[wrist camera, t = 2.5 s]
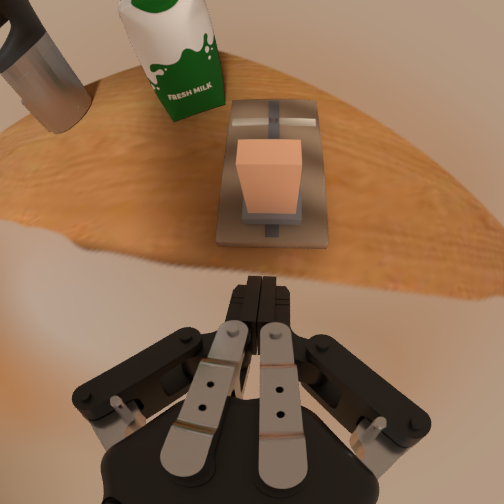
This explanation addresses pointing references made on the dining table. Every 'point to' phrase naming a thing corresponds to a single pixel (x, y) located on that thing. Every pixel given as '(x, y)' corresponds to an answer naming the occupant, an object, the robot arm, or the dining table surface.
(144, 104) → the dining table surface
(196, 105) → the milk carton
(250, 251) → the dining table surface
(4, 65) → the robot arm
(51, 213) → the dining table surface
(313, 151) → the console
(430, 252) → the dining table surface
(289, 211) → the fader
